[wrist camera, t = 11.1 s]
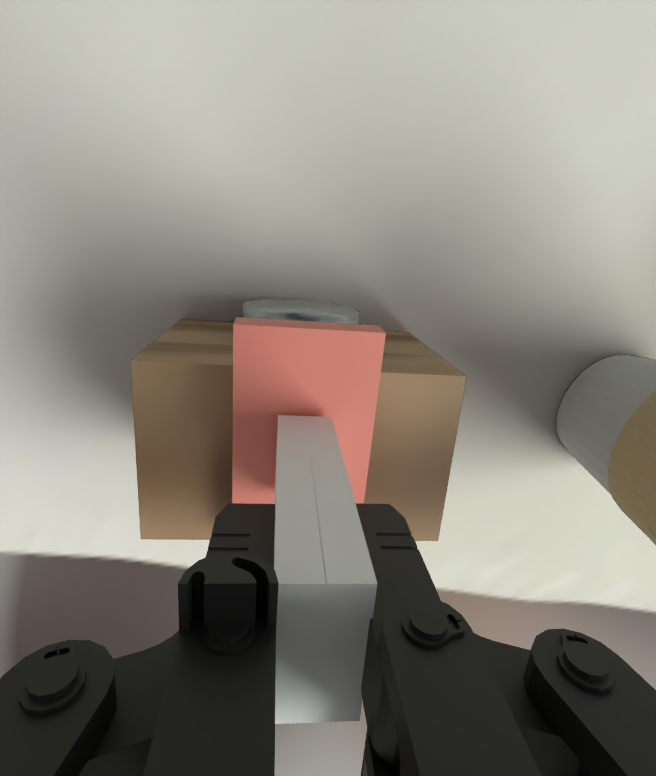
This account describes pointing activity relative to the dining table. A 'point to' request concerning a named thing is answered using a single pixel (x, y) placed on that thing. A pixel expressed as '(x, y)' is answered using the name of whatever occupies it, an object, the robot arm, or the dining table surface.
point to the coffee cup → (616, 432)
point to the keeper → (301, 394)
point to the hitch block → (215, 431)
